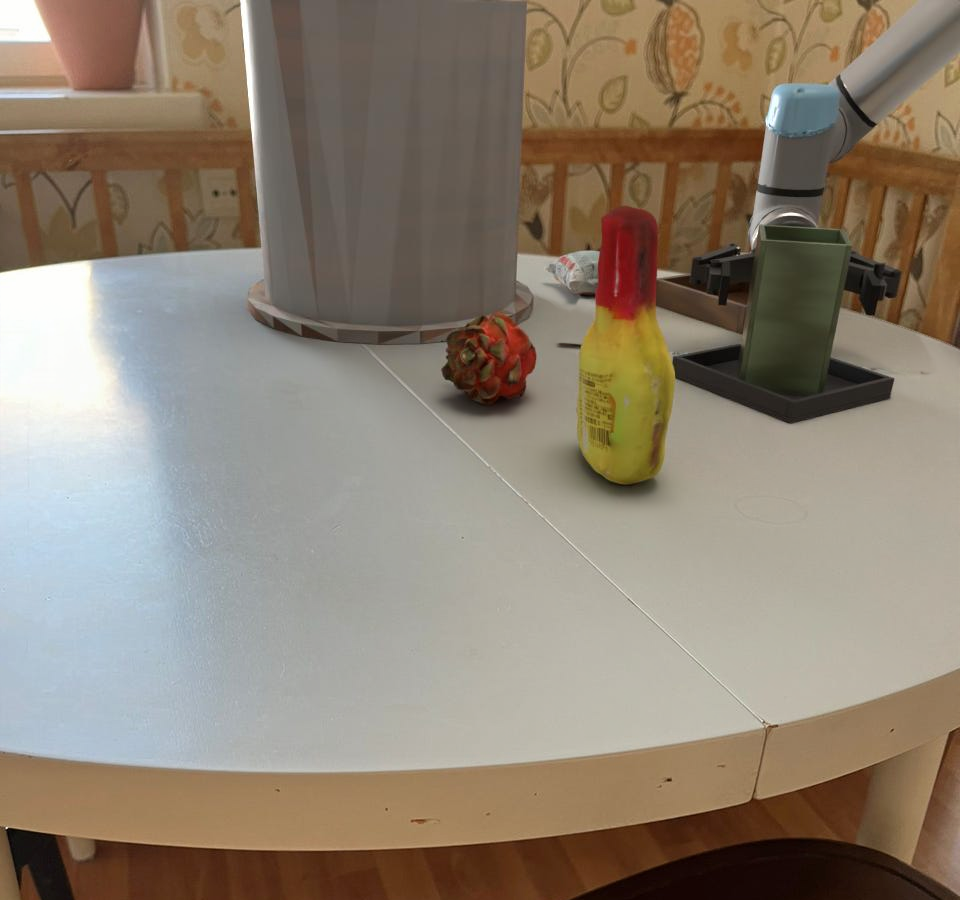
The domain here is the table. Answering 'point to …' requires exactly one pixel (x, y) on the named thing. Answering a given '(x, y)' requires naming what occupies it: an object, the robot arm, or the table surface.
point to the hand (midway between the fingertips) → (798, 295)
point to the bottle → (625, 356)
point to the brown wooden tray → (703, 301)
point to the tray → (840, 393)
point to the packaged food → (577, 271)
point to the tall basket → (793, 308)
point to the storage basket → (386, 165)
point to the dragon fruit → (489, 359)
